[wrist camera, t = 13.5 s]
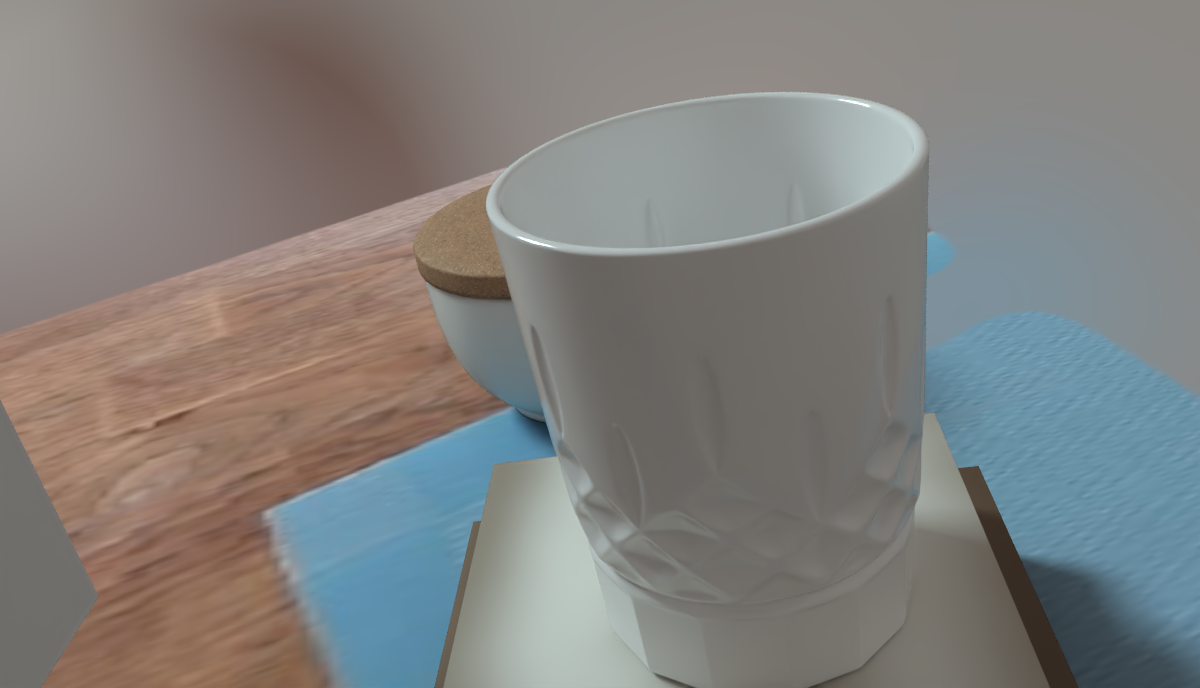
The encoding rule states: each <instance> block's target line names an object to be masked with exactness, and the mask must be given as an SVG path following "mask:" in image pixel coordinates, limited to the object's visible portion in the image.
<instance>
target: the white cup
mask: <svg viewBox="0 0 1200 688" xmlns="http://www.w3.org/2000/svg"><path fill="white" fill-rule="evenodd" d="M928 179H929V141H928V137H927V134H926V132H925V131H924V129H923V128H922V127H921V126H920V125H919V123H918V122H916V121H915V120H914V119H913V118H911V117H910V116H908V115H907V114H905V113H903V112H901V111H899V110H897V109H894V108H892V107H890V106H887V105H884V104H881V103H877V102H874V101H870V100H866V99H861V98H856V97H850V96H843V95H835V94H824V93H809V92H765V93H764V92H762V93H745V94H733V95H723V96H715V97H706V98H699V99H693V100H686V101H681V102H675V103H670V104H665V105H660V106H655V107H651V108H646V109H642V110H638V111H634V112H630V113H626V114H623V115H619V116H615V117H612V118H609V119H605V120H602V121H599V122H596V123H593V124H591V125H587V126H585V127H582V128H579V129H577V130H574V131H572V132H569V133H567V134H565V135H562V136H560V137H558V138H555V139H553V140H551V141H549V142H547V143H545V144H543V145H541V146H539V147H537V148H536V149H534V150H532V151H531V152H529V153H527V154H526V155H524V156H523V157H521V158H520V159H518V160H517V161H516V162H514V163H513V164H511V165H510V166H509V167H508V168H507V169H506V170H504V171H503V172H502V173H501V174H500V176H499V177H498V178H497V179H496V180H495V181H494V183H493V184H492V186H491V188H490V190H489V192H488V194H487V198H486V211H487V215H488V218H489V222H490V225H491V229H492V232H493V236H494V239H495V243H496V246H497V249H498V253H499V256H500V260H501V263H502V267H503V270H504V274H505V277H506V281H507V284H508V288H509V291H510V295H511V298H512V302H513V305H514V309H515V312H516V316H517V319H518V323H519V327H520V330H521V334H522V337H523V341H524V345H525V348H526V352H527V355H528V359H529V362H530V366H531V370H532V373H533V377H534V381H535V384H536V388H537V391H538V395H539V398H540V402H541V406H542V409H543V413H544V416H545V420H546V424H547V427H548V431H549V434H550V437H551V441H552V444H553V447H554V450H555V453H556V455H557V457H558V460H559V463H560V467H561V470H562V474H563V478H564V481H565V484H566V488H567V491H568V494H569V497H570V500H571V503H572V506H573V510H574V513H575V515H576V516H577V518H578V520H579V522H580V524H581V526H582V528H583V530H584V532H585V535H586V537H587V539H588V543H589V547H590V551H591V554H592V557H593V561H594V565H595V569H596V572H597V576H598V580H599V584H600V587H601V591H602V595H603V599H604V602H605V606H606V610H607V614H608V617H609V621H610V624H611V627H612V630H613V631H614V632H615V633H616V635H617V636H618V637H619V638H620V639H621V640H622V641H623V642H624V643H625V644H626V645H627V646H628V647H629V649H630V650H631V651H632V652H633V653H634V654H635V655H636V656H637V657H638V658H639V659H640V660H641V661H642V663H643V664H644V665H645V666H646V667H647V668H648V669H649V670H650V671H652V672H654V673H656V674H659V675H662V676H664V677H667V678H670V679H673V680H675V681H678V682H681V683H684V684H686V685H689V686H692V687H694V688H809V687H812V686H815V685H817V684H820V683H823V682H825V681H828V680H831V679H833V678H836V677H838V676H841V675H844V674H846V673H849V672H852V671H854V670H857V669H859V668H861V667H862V666H863V665H864V664H865V663H866V662H867V661H868V660H869V659H870V658H871V657H872V656H873V655H874V654H875V653H876V652H877V651H878V650H879V649H880V648H881V647H882V646H883V645H884V644H885V643H886V642H887V641H888V640H889V639H890V638H891V637H892V636H893V635H894V634H895V633H896V632H897V631H898V630H899V629H900V628H901V627H902V626H903V625H904V623H905V619H906V614H907V609H908V604H909V599H910V594H911V589H912V584H913V579H914V572H915V505H916V503H917V501H918V498H919V495H920V485H921V447H922V440H923V421H924V404H925V357H926V283H927V227H928V223H927V222H928Z"/></svg>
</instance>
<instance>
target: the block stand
mask: <svg viewBox="0 0 1200 688" xmlns="http://www.w3.org/2000/svg"><path fill="white" fill-rule="evenodd" d="M434 688H694V687H692V686H689V685H686V684H684V683H681V682H678V681H675V680H673V679H670V678H667V677H664V676H662V675H659V674H656V673H654V672H652V671H650V670H649V669H648V668H647V667H646V666H645V665H644V664H643V663H642V661H641V660H640V659H639V658H638V657H637V656H636V655H635V654H634V653H633V652H632V651H631V650H630V649H629V647H628V646H627V645H626V644H625V643H624V642H623V641H622V640H621V639H620V638H619V637H618V636H617V635H616V633H615V632H614V631H613V630H612V627H611V624H610V621H609V617H608V614H607V610H606V606H605V602H604V599H603V595H602V591H601V587H600V584H599V580H598V576H597V572H596V569H595V565H594V561H593V557H592V554H591V551H590V547H589V543H588V539H587V537H586V535H585V532H584V530H583V528H582V526H581V524H580V522H579V520H578V518H577V516H576V515H575V513H574V510H573V506H572V503H571V500H570V497H569V494H568V491H567V488H566V484H565V481H564V478H563V474H562V470H561V467H560V463H559V460H558V457H549V458H541V459H532V460H523V461H515V462H506V463H498V464H494V466H493V471H492V475H491V479H490V484H489V488H488V493H487V497H486V501H485V506H484V510H483V515H482V519H481V521H477V522H473V526H472V530H471V534H470V539H469V543H468V547H467V551H466V556H465V560H464V564H463V568H462V573H461V577H460V581H459V585H458V590H457V594H456V598H455V602H454V606H453V611H452V615H451V619H450V623H449V628H448V632H447V636H446V640H445V645H444V649H443V653H442V657H441V661H440V666H439V670H438V674H437V678H436V683H435V687H434ZM809 688H1078V686H1077V684H1076V681H1075V679H1074V677H1073V675H1072V672H1071V670H1070V668H1069V666H1068V664H1067V661H1066V659H1065V657H1064V655H1063V652H1062V650H1061V648H1060V646H1059V644H1058V641H1057V639H1056V637H1055V635H1054V633H1053V630H1052V628H1051V626H1050V624H1049V621H1048V619H1047V617H1046V615H1045V613H1044V610H1043V608H1042V606H1041V604H1040V601H1039V599H1038V597H1037V595H1036V593H1035V590H1034V588H1033V586H1032V584H1031V582H1030V579H1029V577H1028V575H1027V573H1026V570H1025V568H1024V566H1023V564H1022V562H1021V559H1020V557H1019V555H1018V553H1017V550H1016V548H1015V546H1014V544H1013V542H1012V539H1011V537H1010V535H1009V533H1008V531H1007V528H1006V526H1005V524H1004V522H1003V519H1002V517H1001V515H1000V513H999V511H998V508H997V506H996V504H995V502H994V499H993V497H992V495H991V493H990V491H989V488H988V486H987V484H986V482H985V480H984V477H983V475H982V473H981V471H980V468H979V466H975V467H966V468H957V465H956V463H955V461H954V458H953V456H952V453H951V451H950V449H949V446H948V444H947V442H946V439H945V437H944V434H943V432H942V430H941V427H940V425H939V423H938V420H937V418H936V415H935V413H926V414H924V421H923V440H922V447H921V485H920V495H919V498H918V501H917V503H916V505H915V572H914V579H913V584H912V589H911V594H910V599H909V604H908V609H907V614H906V619H905V623H904V625H903V626H902V627H901V628H900V629H899V630H898V631H897V632H896V633H895V634H894V635H893V636H892V637H891V638H890V639H889V640H888V641H887V642H886V643H885V644H884V645H883V646H882V647H881V648H880V649H879V650H878V651H877V652H876V653H875V654H874V655H873V656H872V657H871V658H870V659H869V660H868V661H867V662H866V663H865V664H864V665H863V666H862V667H861V668H859V669H857V670H854V671H852V672H849V673H846V674H844V675H841V676H838V677H836V678H833V679H831V680H828V681H825V682H823V683H820V684H817V685H815V686H812V687H809Z"/></svg>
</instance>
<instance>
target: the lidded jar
mask: <svg viewBox="0 0 1200 688" xmlns="http://www.w3.org/2000/svg"><path fill="white" fill-rule="evenodd" d="M491 186H492V185H490V186H487V187H484V188H481V189H479V190H477V191H474V192H472V193H470V194H468V195H466V196H463V197H462V198H460V199H458V200H456V201H454V202H452V203H450V204H448V205H447V206H445V207H444V208H442V209H441V210H439V211H438V212H436V213H435V214H434V215H433V216H431V217H430V218H429V219H428V220H427V221H426V222H425V223H424V224H423V225H422V227H421V228H420V229H419V231H418V233H417V235H416V236H415V239H414V245H413V250H414V254H415V258H416V262H417V265H418V269H419V272H420V274H421V275H422V277H423V278H424V279H425V282H426V286H427V290H428V294H429V297H430V301H431V304H432V307H433V310H434V313H435V316H436V319H437V322H438V324H439V326H440V329H441V331H442V333H443V336H444V338H445V340H446V342H447V343H448V345H449V347H450V349H451V351H452V352H453V354H454V356H455V358H456V359H457V360H458V362H459V363H460V365H461V366H462V367H463V368H464V370H465V371H466V372H467V373H468V374H469V376H470V377H471V378H472V379H473V380H474V381H475V382H477V383H478V384H479V385H480V386H481V387H482V388H484V389H485V390H486V391H487V392H488V393H490V394H491V395H493V396H495V397H496V398H498V399H500V400H502V401H504V402H506V403H508V404H510V405H512V406H515V408H516V409H517V410H518V411H519V412H520V413H521V414H523V415H524V416H526V417H528V418H530V419H533V420H536V421H540V422H545V423H546V420H545V416H544V413H543V409H542V406H541V402H540V398H539V395H538V391H537V388H536V384H535V381H534V377H533V373H532V370H531V366H530V362H529V359H528V355H527V352H526V348H525V345H524V341H523V337H522V334H521V330H520V327H519V323H518V319H517V316H516V312H515V309H514V305H513V302H512V298H511V295H510V291H509V288H508V284H507V281H506V277H505V274H504V270H503V267H502V263H501V260H500V256H499V253H498V249H497V246H496V243H495V239H494V236H493V232H492V229H491V225H490V222H489V218H488V215H487V211H486V198H487V194H488V192H489V190H490V188H491Z"/></svg>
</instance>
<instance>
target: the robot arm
mask: <svg viewBox="0 0 1200 688" xmlns="http://www.w3.org/2000/svg"><path fill="white" fill-rule="evenodd" d="M98 597H99V596H98V594H97V592H96V590H95V588H94V586H93V584H92V582H91V580H90V578H89V576H88V574H87V572H86V570H85V568H84V566H83V564H82V562H81V560H80V558H79V556H78V554H77V552H76V550H75V548H74V546H73V544H72V542H71V540H70V538H69V536H68V534H67V532H66V530H65V528H64V526H63V524H62V522H61V520H60V518H59V516H58V514H57V512H56V510H55V508H54V506H53V504H52V502H51V500H50V498H49V496H48V494H47V492H46V490H45V488H44V487H43V485H42V483H41V481H40V479H39V477H38V475H37V473H36V471H35V469H34V467H33V465H32V463H31V461H30V459H29V457H28V455H27V453H26V451H25V449H24V447H23V445H22V443H21V441H20V439H19V437H18V435H17V433H16V431H15V429H14V427H13V425H12V423H11V421H10V419H9V417H8V415H7V413H6V411H5V409H4V407H3V405H2V403H1V401H0V688H41V686H42V685H43V683H44V682H45V680H46V678H47V677H48V675H49V674H50V672H51V671H52V669H53V667H54V666H55V664H56V663H57V661H58V660H59V658H60V657H61V655H62V653H63V652H64V650H65V649H66V647H67V646H68V644H69V643H70V641H71V639H72V638H73V636H74V635H75V633H76V632H77V630H78V628H79V627H80V625H81V624H82V622H83V621H84V619H85V618H86V616H87V614H88V613H89V611H90V610H91V608H92V607H93V605H94V603H95V602H96V600H97V599H98Z"/></svg>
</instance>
